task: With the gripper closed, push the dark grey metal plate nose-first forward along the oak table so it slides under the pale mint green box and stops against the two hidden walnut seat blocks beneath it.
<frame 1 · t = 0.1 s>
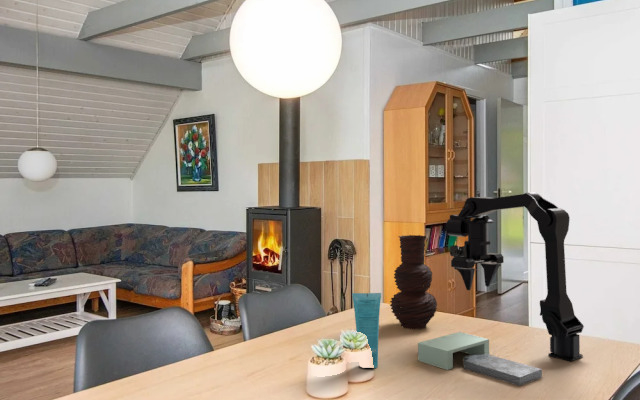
hand: (478, 288, 173), 15 cm above the table, fingers open, 9 cm apart
tube: (367, 367, 146), on the table
pale mint green box: (453, 358, 151), on the table
plate: (501, 373, 139), on the table
vase: (413, 327, 186), on the table
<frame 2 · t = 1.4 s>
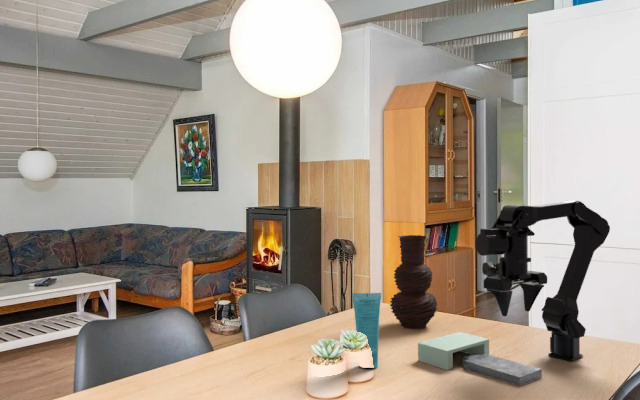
hand: (516, 313, 146), 13 cm above the table, fingers open, 9 cm apart
nothing on the table moved.
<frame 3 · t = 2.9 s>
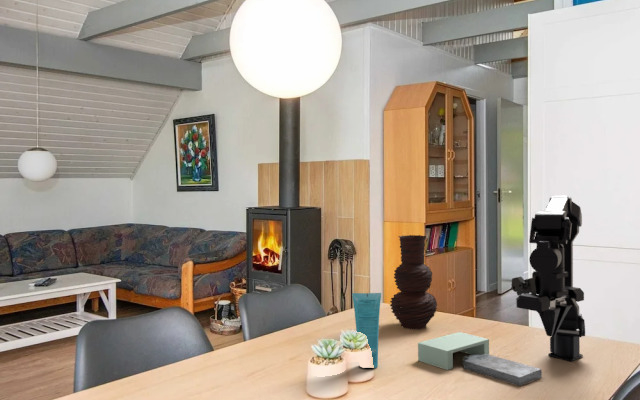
hand: (551, 335, 128), 12 cm above the table, fingers closed
nothing on the table moved.
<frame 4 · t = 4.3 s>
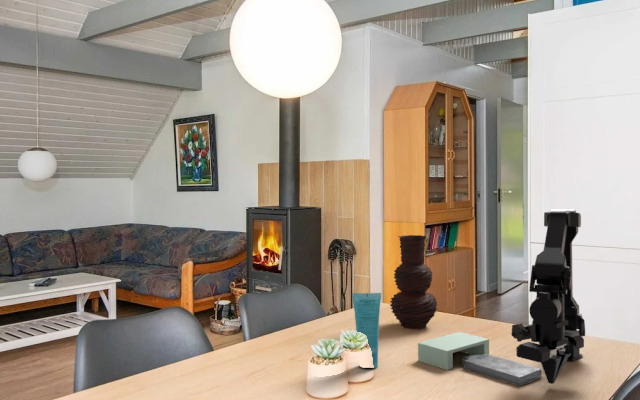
hand: (551, 383, 129), 1 cm above the table, fingers closed
nothing on the table moved.
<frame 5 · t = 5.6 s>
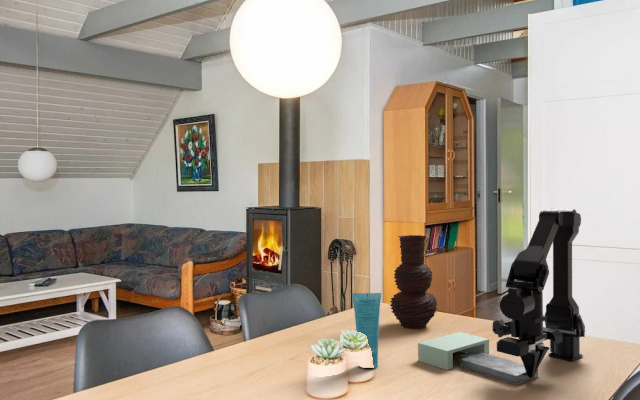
hand: (530, 377, 133), 1 cm above the table, fingers closed
plate: (498, 372, 140), on the table, touching gripper
everything else where it was.
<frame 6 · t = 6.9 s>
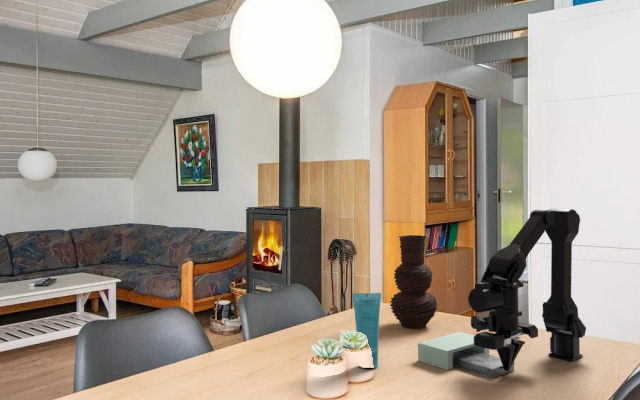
hand: (507, 370, 138), 1 cm above the table, fingers closed, pressing on plate
plate: (476, 366, 145), on the table, touching gripper
everything else where it was.
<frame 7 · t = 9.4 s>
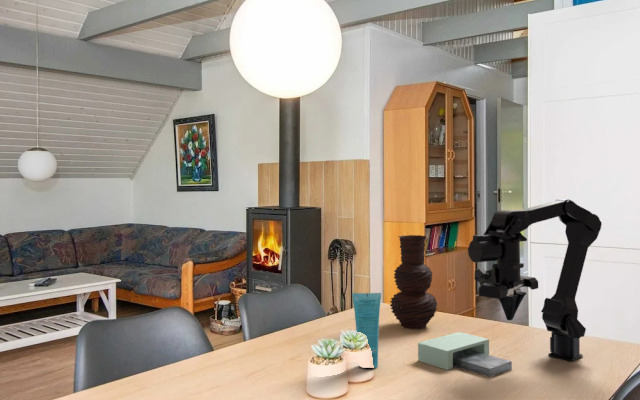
hand: (509, 320, 145), 12 cm above the table, fingers closed
plate: (474, 365, 146), on the table
everything else where it was.
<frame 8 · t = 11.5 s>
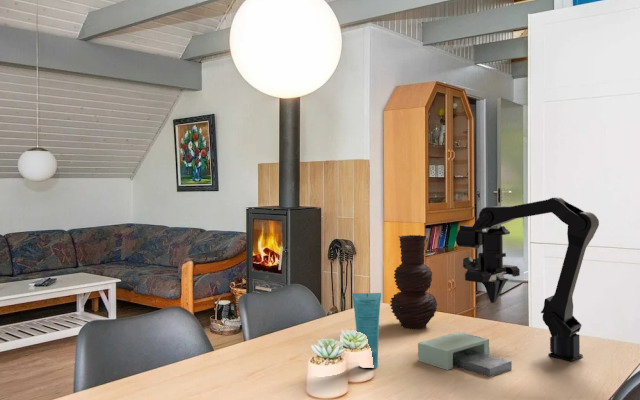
hand: (492, 302, 164), 12 cm above the table, fingers closed
nothing on the table moved.
at the end: plate 0.4 cm from the target spot on the table beside the pale mint green box, on the table; plate tilted 0° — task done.
